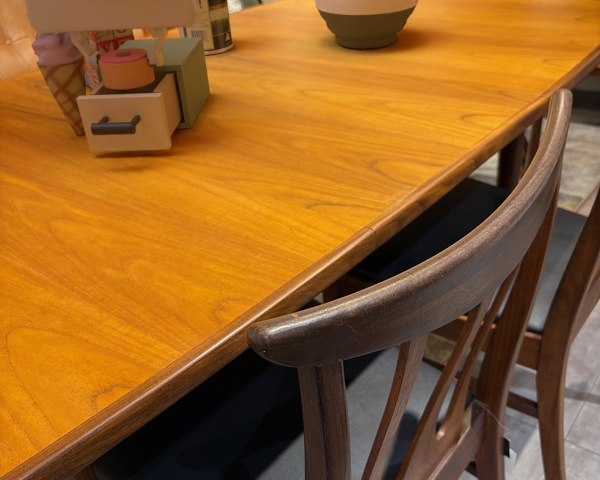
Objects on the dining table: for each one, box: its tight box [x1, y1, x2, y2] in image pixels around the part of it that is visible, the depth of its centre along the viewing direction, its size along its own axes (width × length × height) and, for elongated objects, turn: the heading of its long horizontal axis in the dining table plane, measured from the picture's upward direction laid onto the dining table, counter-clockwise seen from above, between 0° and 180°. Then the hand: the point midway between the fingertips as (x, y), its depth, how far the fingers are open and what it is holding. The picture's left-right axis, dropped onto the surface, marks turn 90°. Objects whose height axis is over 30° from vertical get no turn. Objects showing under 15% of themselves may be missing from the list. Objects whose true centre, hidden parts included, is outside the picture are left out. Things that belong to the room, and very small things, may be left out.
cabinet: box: [96, 37, 211, 130], centre depth 89 cm, size 15×12×9 cm
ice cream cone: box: [31, 31, 87, 136], centre depth 82 cm, size 7×6×15 cm
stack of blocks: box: [82, 29, 136, 90], centre depth 101 cm, size 21×6×12 cm, turn 34°
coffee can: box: [177, 0, 234, 56], centre depth 116 cm, size 10×10×14 cm
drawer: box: [76, 71, 183, 153], centre depth 79 cm, size 18×10×7 cm, turn 176°
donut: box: [98, 48, 155, 90], centre depth 77 cm, size 6×6×3 cm
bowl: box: [314, 0, 419, 50], centre depth 114 cm, size 20×20×10 cm
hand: (126, 66), depth 77 cm, fingers closed on donut, 6 cm apart
